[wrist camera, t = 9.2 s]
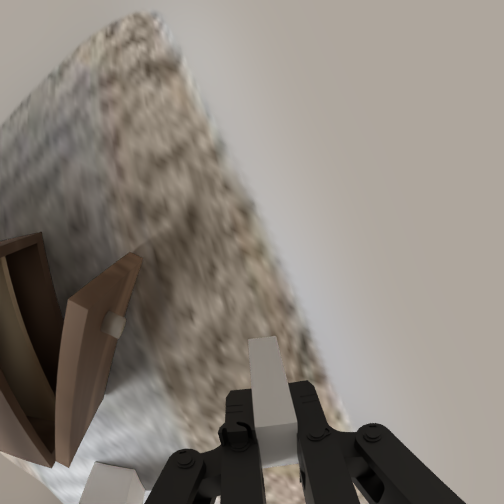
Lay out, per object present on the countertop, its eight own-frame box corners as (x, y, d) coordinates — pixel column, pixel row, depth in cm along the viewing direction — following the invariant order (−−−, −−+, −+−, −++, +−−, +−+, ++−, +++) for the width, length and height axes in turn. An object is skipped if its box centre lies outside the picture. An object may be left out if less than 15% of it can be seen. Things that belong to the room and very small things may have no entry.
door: (92, 397, 25) (56, 464, 16) (129, 252, 22) (68, 299, 12) (112, 406, 26) (82, 477, 16) (157, 264, 23) (109, 320, 13)
